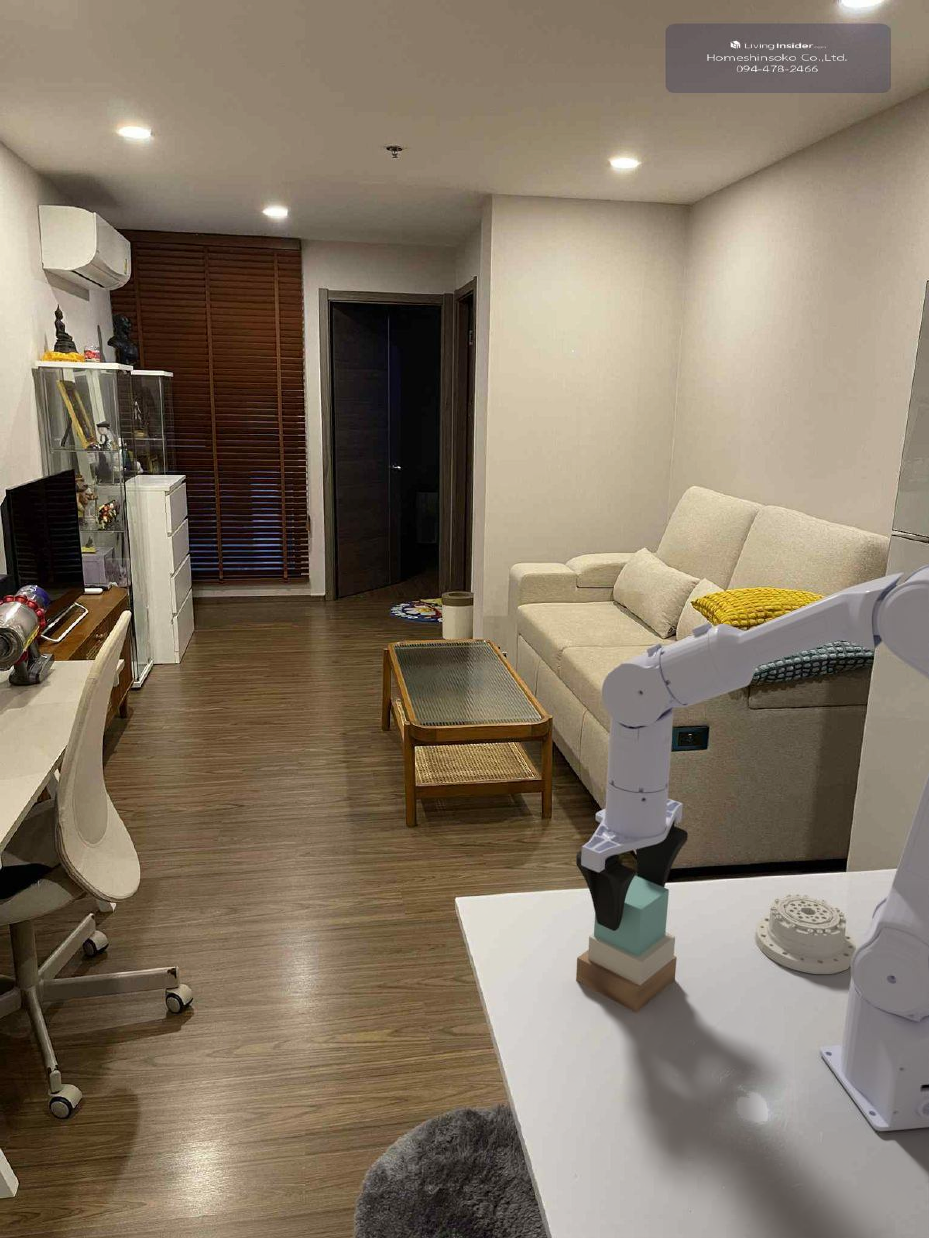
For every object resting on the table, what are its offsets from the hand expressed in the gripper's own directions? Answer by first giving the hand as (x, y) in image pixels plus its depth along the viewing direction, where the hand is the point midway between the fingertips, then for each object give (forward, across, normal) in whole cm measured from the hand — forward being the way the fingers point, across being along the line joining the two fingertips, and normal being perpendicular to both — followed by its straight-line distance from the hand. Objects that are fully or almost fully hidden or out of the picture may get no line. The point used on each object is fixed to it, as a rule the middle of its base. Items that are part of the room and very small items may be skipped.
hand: (629, 910), depth 91 cm
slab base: (+8, 0, 0) cm, 8 cm away
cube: (+3, 0, 0) cm, 3 cm away
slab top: (+5, 0, 0) cm, 5 cm away
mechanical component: (+8, -18, +11) cm, 23 cm away
